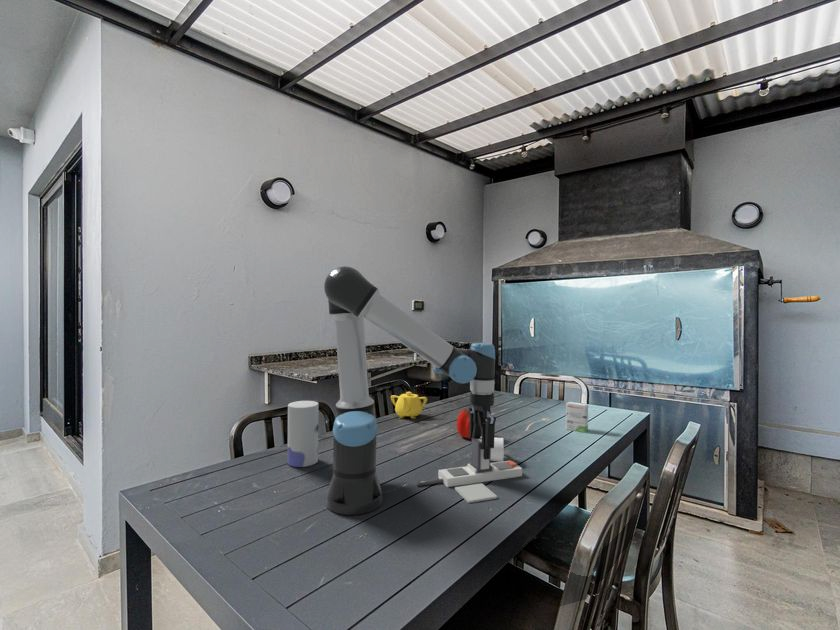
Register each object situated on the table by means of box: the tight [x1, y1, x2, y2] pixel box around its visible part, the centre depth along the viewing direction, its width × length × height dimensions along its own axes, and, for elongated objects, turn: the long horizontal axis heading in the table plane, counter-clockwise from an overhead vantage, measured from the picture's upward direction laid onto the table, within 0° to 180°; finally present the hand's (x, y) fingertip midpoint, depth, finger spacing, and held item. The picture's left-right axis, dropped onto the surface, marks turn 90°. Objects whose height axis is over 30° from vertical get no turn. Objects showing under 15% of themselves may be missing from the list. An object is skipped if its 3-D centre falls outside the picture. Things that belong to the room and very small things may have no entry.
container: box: [287, 400, 319, 468], centre depth 142 cm, size 10×10×20 cm
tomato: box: [456, 409, 474, 440], centre depth 172 cm, size 14×13×10 cm
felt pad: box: [454, 482, 498, 504], centre depth 120 cm, size 9×9×1 cm
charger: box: [470, 438, 492, 472], centre depth 132 cm, size 4×4×9 cm
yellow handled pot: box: [390, 391, 428, 420], centre depth 202 cm, size 14×14×12 cm
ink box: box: [565, 401, 589, 433], centre depth 184 cm, size 9×5×12 cm, turn 56°
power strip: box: [416, 460, 523, 488], centre depth 131 cm, size 34×7×4 cm, turn 110°
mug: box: [490, 436, 505, 462], centre depth 149 cm, size 12×10×8 cm
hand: (480, 465), depth 132 cm, fingers closed on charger, 4 cm apart
